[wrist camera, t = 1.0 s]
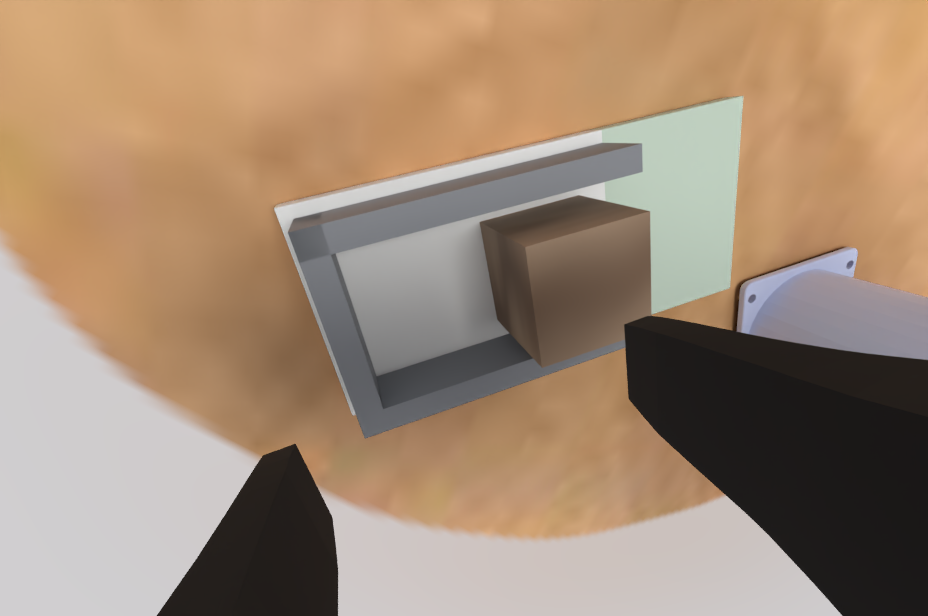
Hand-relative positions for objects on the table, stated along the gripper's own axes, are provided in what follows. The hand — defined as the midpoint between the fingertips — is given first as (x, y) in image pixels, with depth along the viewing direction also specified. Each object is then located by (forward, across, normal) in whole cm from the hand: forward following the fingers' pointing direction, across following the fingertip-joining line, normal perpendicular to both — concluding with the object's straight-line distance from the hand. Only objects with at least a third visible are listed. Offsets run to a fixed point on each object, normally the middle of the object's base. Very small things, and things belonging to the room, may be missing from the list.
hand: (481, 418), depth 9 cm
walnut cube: (+9, -6, +1) cm, 11 cm away
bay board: (+10, -7, +1) cm, 12 cm away
